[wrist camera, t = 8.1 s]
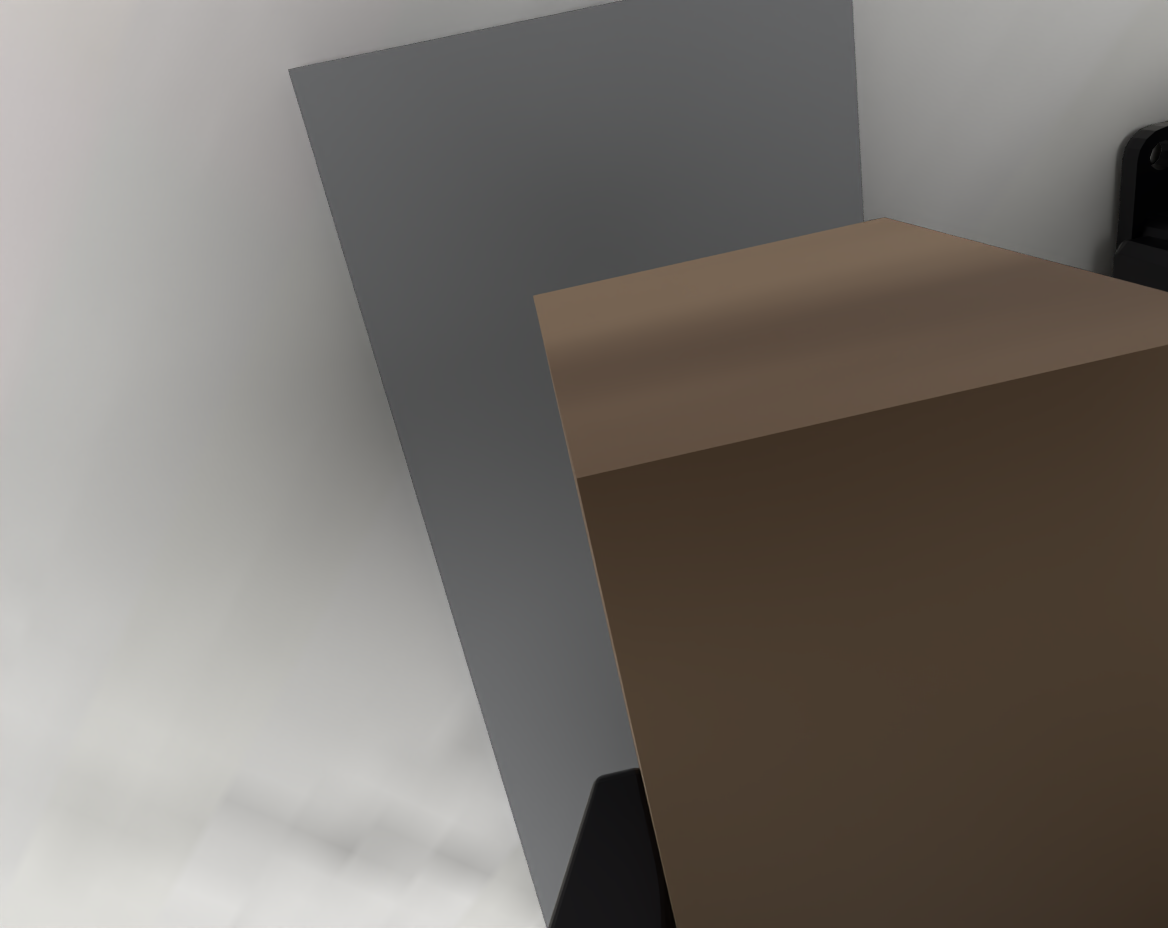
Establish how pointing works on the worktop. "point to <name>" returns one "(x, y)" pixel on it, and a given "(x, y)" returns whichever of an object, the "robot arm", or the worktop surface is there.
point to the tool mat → (548, 263)
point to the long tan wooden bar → (883, 576)
